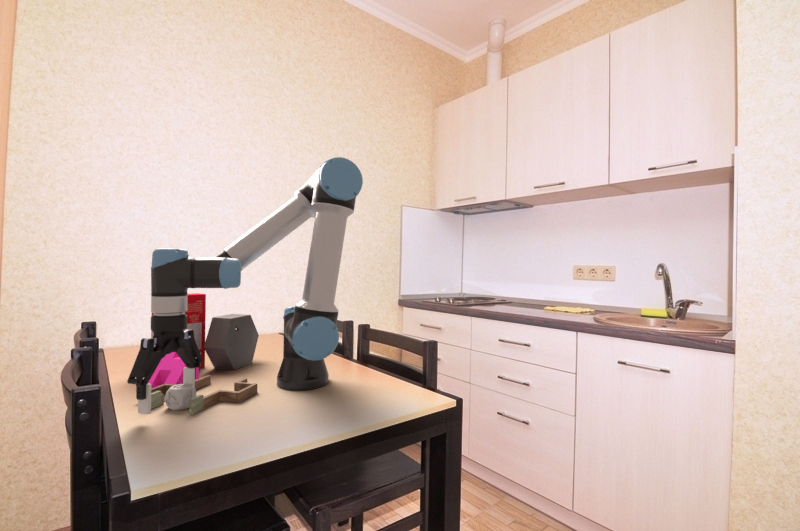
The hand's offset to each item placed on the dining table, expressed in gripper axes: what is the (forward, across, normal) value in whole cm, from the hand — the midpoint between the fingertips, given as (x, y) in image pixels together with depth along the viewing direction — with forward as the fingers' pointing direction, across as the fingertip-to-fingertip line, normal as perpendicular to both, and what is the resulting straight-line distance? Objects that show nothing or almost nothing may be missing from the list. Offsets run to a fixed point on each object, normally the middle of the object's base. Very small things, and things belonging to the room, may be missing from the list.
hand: (168, 402), depth 96 cm
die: (+2, -4, 0) cm, 5 cm away
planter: (+3, -42, -12) cm, 44 cm away
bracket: (+3, -18, -16) cm, 24 cm away
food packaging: (+3, -32, -25) cm, 41 cm away
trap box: (+2, -11, 0) cm, 12 cm away
